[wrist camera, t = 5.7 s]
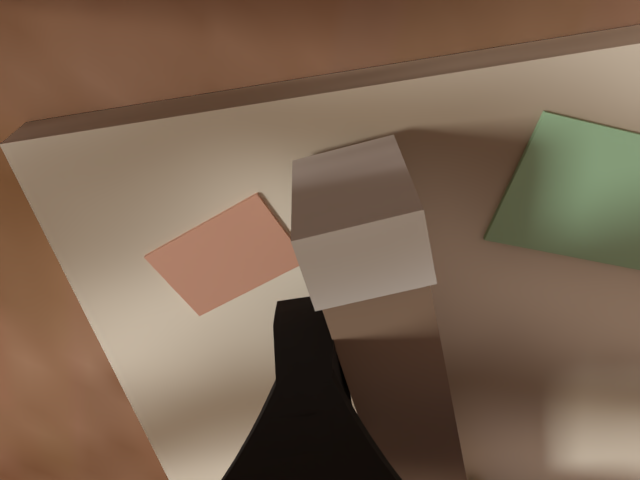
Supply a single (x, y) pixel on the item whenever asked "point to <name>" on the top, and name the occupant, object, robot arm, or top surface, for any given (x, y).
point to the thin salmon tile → (226, 255)
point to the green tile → (574, 193)
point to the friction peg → (378, 300)
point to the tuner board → (260, 303)
